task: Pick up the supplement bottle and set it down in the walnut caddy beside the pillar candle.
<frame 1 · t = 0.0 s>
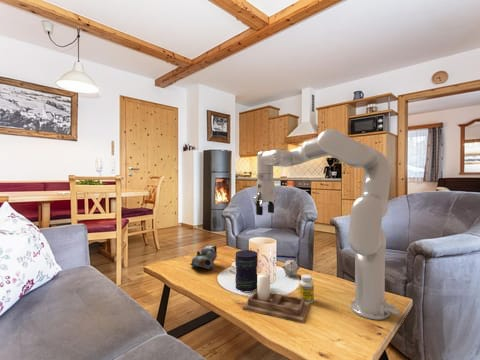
hand: (265, 213, 121), 31 cm above the table, fingers open, 9 cm apart
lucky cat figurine: (203, 267, 138), on the table
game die: (290, 276, 126), on the table
walnut caddy: (276, 307, 95), on the table
supplement bottle: (306, 301, 100), on the table
storage jar: (246, 287, 113), on the table
pillar candle: (263, 304, 97), resting on walnut caddy
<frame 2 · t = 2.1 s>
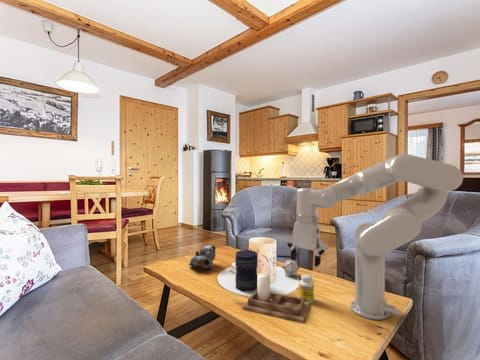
hand: (305, 262, 101), 15 cm above the table, fingers open, 9 cm apart
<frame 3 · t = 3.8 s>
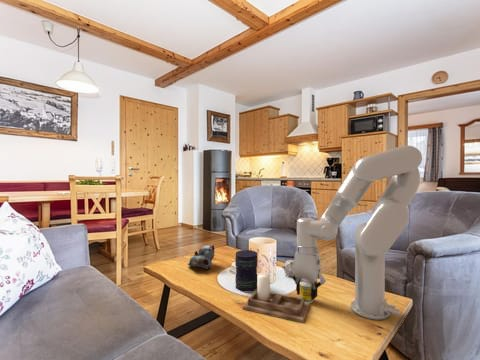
hand: (306, 295, 100), 2 cm above the table, fingers closed on supplement bottle, 5 cm apart
supplement bottle: (306, 301, 100), on the table, touching gripper
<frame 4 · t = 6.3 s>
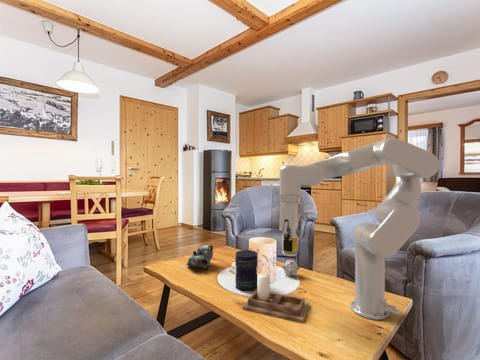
hand: (289, 248, 93), 22 cm above the table, fingers closed on supplement bottle, 5 cm apart
supplement bottle: (289, 254, 93), point 20 cm above the table, touching gripper
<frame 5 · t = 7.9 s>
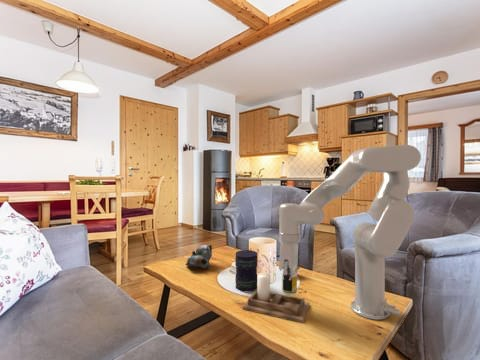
hand: (289, 286, 93), 8 cm above the table, fingers closed on supplement bottle, 5 cm apart
supplement bottle: (289, 292, 93), point 6 cm above the table, touching gripper
when the fingers open (4 cm above the table, at t = 9.1 s): supplement bottle drops 1 cm, resting on walnut caddy.
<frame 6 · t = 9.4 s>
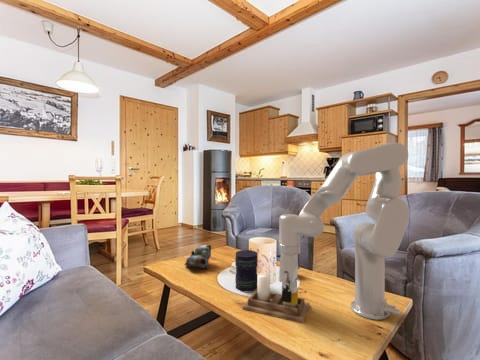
hand: (289, 296, 93), 5 cm above the table, fingers open, 8 cm apart
supplement bottle: (290, 307, 93), point 1 cm above the table, touching walnut caddy
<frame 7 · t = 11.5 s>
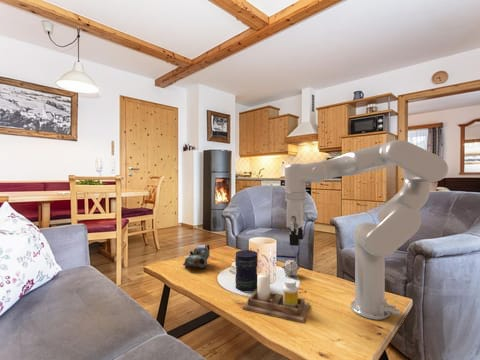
hand: (296, 242, 96), 24 cm above the table, fingers open, 9 cm apart
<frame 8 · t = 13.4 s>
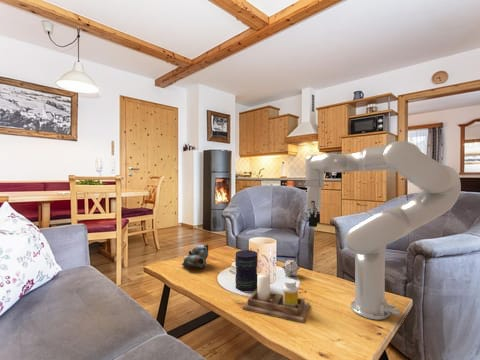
hand: (314, 224, 109), 28 cm above the table, fingers open, 9 cm apart
at the end: supplement bottle 0.2 cm from the target spot, point 0.8 cm above the table; supplement bottle tilted 0°; the gripper is holding nothing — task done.
